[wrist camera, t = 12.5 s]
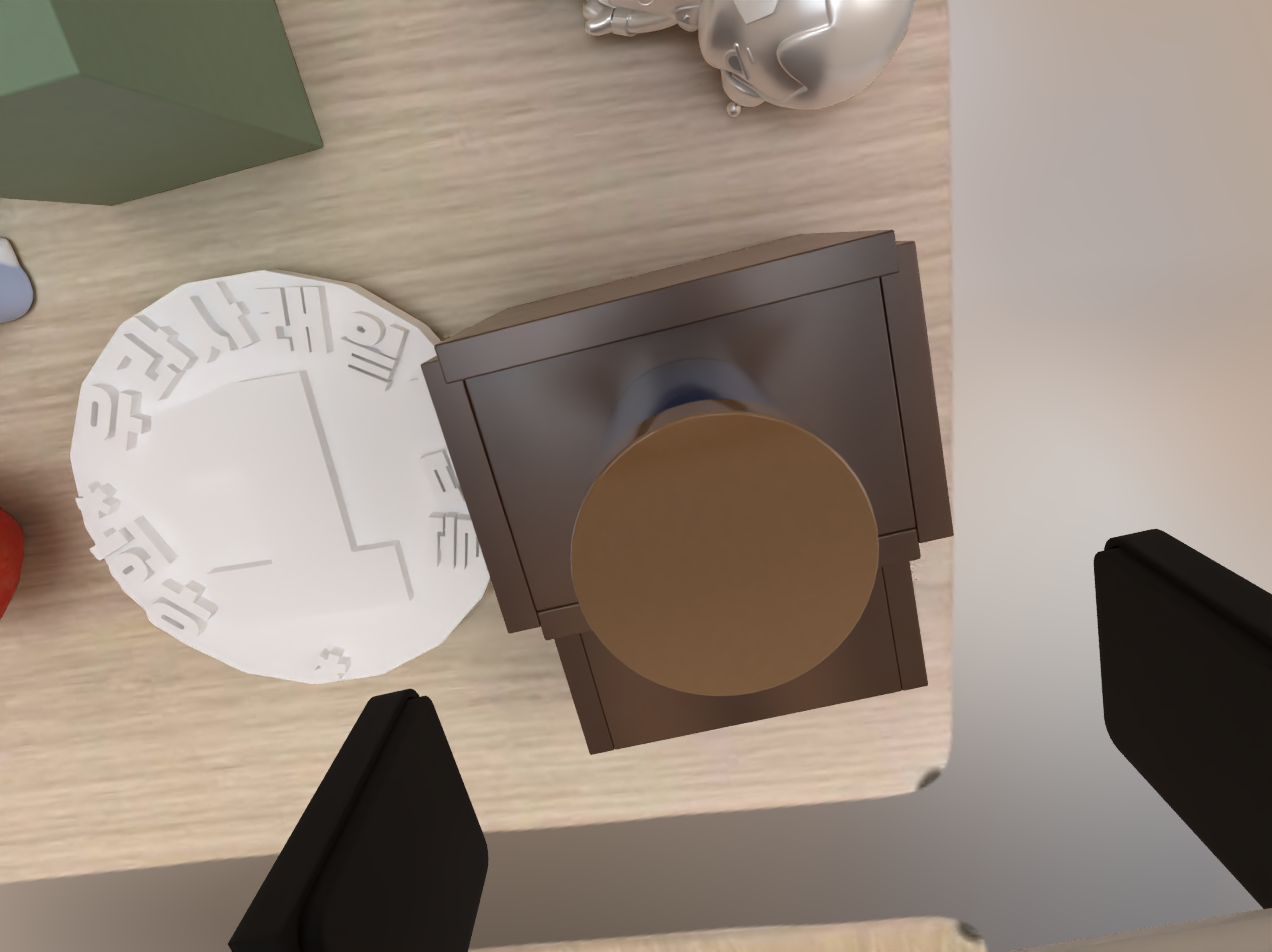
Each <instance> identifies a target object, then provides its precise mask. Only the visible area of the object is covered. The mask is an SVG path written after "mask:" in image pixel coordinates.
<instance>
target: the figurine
mask: <svg viewBox="0 0 1272 952" xmlns="http://www.w3.org/2000/svg"><path fill="white" fill-rule="evenodd" d="M914 3H915V0H586V1H585V3H584V6H583V14H584V16H585V18H586V20H587V21H586V23H585V29H586V32H587V33H588V34H589V35H592V36H599V35H603V34H608V33H611V32H612V33H614V34H619V35H624V36H634V35H635V34H637V33H646V32H652V31H657V30H661V29H665V28H668V27H671V26H673V25H675V24H677V23H678V25H679V26H680V27H681V28H683V29H684V30H686V31H690V32H693V31H696V30H698V38H699V45H700V50H701V53H702V55H703V57H704V59H705V61H706V62H707V63H708V64H709V65H711V66H712V67H715V68H718V69H721V76H722V86H723V89H724V91H725V93H726V94H727V96H728V97H729V98H730V99H732V100H733V101H732V102H730V103H729V104H728V106H727V113H728V114H729V115H730V116H731V117H736V116H738V115H739V114H740V112H741V105H743V106H747V107H754V106H758V105H760V104H761V103H763V102H764V101H767V102H769V103H771V104H774V105H777V106H781V107H787V108H793V109H800V110H814V109H821V108H825V107H828V106H831V105H834V104H837V103H839V102H842V101H844V100H847V99H849V98H851V97H853V96H855V95H856V94H858V93H860V92H861V91H863V90H864V89H865V88H867V87H868V86H869V85H870V84H871V83H872V82H873V81H874V80H875V79H876V78H877V77H878V76H879V74H880V73H881V72H882V71H883V69H884V68H885V67H886V65H887V64H888V62H889V61H890V59H891V58H892V56H893V55H894V53H895V52H896V50H897V48H898V47H899V45H900V44H901V42H902V40H903V38H904V36H905V34H906V31H907V28H908V25H909V22H910V18H911V15H912V11H913V7H914Z"/></svg>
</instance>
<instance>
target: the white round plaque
mask: <svg viewBox="0 0 1272 952" xmlns="http://www.w3.org/2000/svg"><path fill="white" fill-rule="evenodd" d="M440 342H442V341H441V340H440V339H439V338H438V337H437V336H436V335H435V333H434V332H433V331H432V330H431V329H430V328H429V327H428V326H427V325H426V324H425V323H423V322H421V321H419V320H418V319H416V318H414V317H412V316H411V315H409V314H407V313H405V312H404V311H402V310H400V309H399V308H397V307H395V306H393V305H392V304H390V303H388V302H386V301H385V300H383V299H381V298H379V297H378V296H376V295H374V294H373V293H371V292H369V291H367V290H366V289H364V288H362V287H360V286H359V285H357V284H353V283H348V282H343V281H337V280H332V279H327V278H322V277H317V276H311V275H306V274H301V273H296V272H291V271H285V270H280V269H270V270H260V271H254V272H248V273H242V274H237V275H231V276H225V277H219V278H213V279H208V280H202V281H196V282H190V283H185V284H182V285H181V286H179V287H178V288H176V289H175V290H173V291H171V292H170V293H168V294H167V295H165V296H164V297H162V298H161V299H159V300H157V301H156V302H154V303H153V304H151V305H150V306H148V307H147V308H145V309H143V310H142V311H140V312H139V313H137V314H136V315H134V316H133V317H131V318H129V319H128V320H126V321H125V322H123V323H122V324H120V326H119V327H118V329H117V331H116V332H115V334H114V335H113V337H112V338H111V340H110V341H109V343H108V344H107V346H106V347H105V349H104V351H103V352H102V354H101V355H100V357H99V358H98V360H97V361H96V363H95V364H94V366H93V367H92V369H91V370H90V372H89V374H88V375H87V377H86V378H85V380H84V381H83V383H82V384H81V390H80V396H79V402H78V408H77V414H76V420H75V426H74V432H73V438H72V445H71V451H70V459H71V464H72V468H73V473H74V478H75V482H76V487H77V492H78V496H79V497H77V498H75V500H76V503H77V505H78V508H79V510H81V511H82V515H83V520H84V525H85V528H86V529H87V531H88V533H89V534H90V536H91V538H92V539H93V541H94V543H95V544H96V545H95V546H93V547H92V548H90V549H89V550H90V551H91V552H92V554H93V555H94V556H95V557H96V558H97V559H98V560H99V561H100V560H102V559H103V558H104V559H105V561H106V563H107V564H108V566H109V569H110V573H111V574H112V576H113V577H114V579H115V580H117V581H118V583H119V585H120V586H121V588H122V590H123V591H124V592H125V593H126V594H127V595H128V596H130V597H131V598H132V599H133V600H134V601H135V602H136V603H137V604H138V605H140V606H141V607H142V608H143V609H144V610H145V611H146V612H147V617H148V619H149V621H150V622H151V623H152V624H153V625H155V626H156V627H158V628H160V629H161V630H163V631H165V632H167V633H169V634H170V635H172V636H174V637H175V638H176V639H177V640H178V641H180V642H182V643H184V644H186V645H188V646H190V647H192V648H195V649H197V650H199V651H201V652H203V653H205V654H207V655H209V656H211V657H213V658H215V659H217V660H219V661H221V662H223V663H225V664H228V665H230V666H232V667H234V668H236V669H238V670H240V671H242V672H244V673H249V674H255V675H261V676H267V677H273V678H279V679H285V680H291V681H297V682H303V683H309V684H321V683H328V682H335V681H342V680H349V679H356V678H363V677H370V676H377V675H383V674H384V673H386V672H388V671H390V670H392V669H394V668H396V667H398V666H400V665H402V664H404V663H406V662H408V661H410V660H411V659H413V658H415V657H417V656H419V655H421V654H423V653H425V652H427V651H429V650H431V649H433V648H435V647H437V646H438V645H440V644H441V643H442V642H443V641H444V640H445V639H446V638H447V636H448V635H449V634H450V633H451V632H452V631H453V630H454V628H455V627H456V626H457V625H458V624H459V623H460V622H461V621H462V619H463V618H464V617H465V616H466V615H467V614H468V613H469V611H470V610H471V609H472V608H473V607H474V606H475V605H476V604H477V602H478V601H479V600H480V599H481V598H482V597H483V595H484V593H485V591H486V589H487V586H488V584H489V582H490V579H491V578H490V575H489V572H488V569H487V566H486V563H485V560H484V557H483V554H482V551H481V548H480V545H479V542H478V539H477V536H476V533H475V530H474V527H473V524H472V521H471V518H470V515H469V512H468V508H467V505H466V502H465V499H464V496H463V493H462V490H461V487H460V484H459V481H458V478H457V475H456V472H455V469H454V466H453V463H452V460H451V457H450V454H449V451H448V448H447V445H446V442H445V439H444V436H443V433H442V429H441V426H440V423H439V420H438V417H437V414H436V411H435V408H434V405H433V402H432V399H431V396H430V393H429V390H428V387H427V384H426V381H425V378H424V375H423V372H422V369H421V364H422V363H424V362H426V361H428V360H429V359H431V358H433V357H435V356H437V354H436V351H435V348H434V345H436V344H438V343H440Z"/></svg>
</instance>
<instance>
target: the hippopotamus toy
mask: <svg viewBox="0 0 1272 952" xmlns="http://www.w3.org/2000/svg"><path fill="white" fill-rule="evenodd" d="M32 301H33V290H32V286H31V283H30V280H29V278H28V276H27V274H26V273H25V272H24V270H23V269H22V268H21V267H20V265H19V262H18V260H17V257H16V255H15V253H14V251H13V249H12V246H11V244H10V242H9V241H8V240H7V239H4V238H0V323H3V322H9V321H13V320H15V319H18V318H20V317H21V316H23V315H24V314H25V313H26V312H27V311H28V310H29V308H30V306H31V304H32Z"/></svg>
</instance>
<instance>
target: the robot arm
mask: <svg viewBox="0 0 1272 952" xmlns="http://www.w3.org/2000/svg"><path fill="white" fill-rule="evenodd" d="M1094 575H1095V588H1096V604H1097V618H1098V634H1099V649H1100V662H1101V677H1102V693H1103V707H1104V720H1105V725H1106V728H1107V731H1108V733H1109V736H1110V738H1111V739H1112V741H1113V743H1114V744H1115V745H1116V747H1117V748H1118V750H1119V751H1120V752H1121V753H1122V754H1123V755H1124V756H1125V757H1126V758H1127V760H1128V761H1129V762H1130V763H1131V764H1132V765H1133V766H1134V767H1135V768H1136V769H1137V771H1139V773H1140V774H1141V775H1142V776H1143V777H1144V778H1145V779H1146V780H1147V781H1148V782H1149V784H1150V785H1151V786H1152V787H1153V788H1154V789H1155V790H1156V791H1157V792H1158V793H1159V795H1160V796H1161V797H1162V798H1163V799H1164V800H1165V801H1166V802H1167V803H1168V804H1169V806H1171V808H1172V809H1173V810H1174V811H1175V812H1176V813H1177V814H1178V815H1179V817H1181V819H1182V820H1183V821H1184V822H1185V823H1186V824H1187V825H1188V826H1189V827H1190V828H1191V830H1192V831H1193V832H1194V833H1195V834H1196V835H1197V836H1198V837H1199V838H1200V839H1201V841H1202V842H1203V843H1204V844H1205V845H1206V846H1207V847H1208V848H1209V849H1210V851H1211V852H1212V853H1213V854H1214V855H1215V856H1216V857H1217V858H1218V859H1219V860H1220V861H1221V863H1222V864H1223V865H1224V866H1225V867H1226V868H1227V869H1228V870H1229V871H1230V872H1231V873H1232V875H1234V877H1235V878H1236V879H1237V880H1238V881H1239V882H1240V883H1241V884H1242V885H1243V887H1245V889H1246V890H1247V891H1248V892H1249V893H1250V894H1251V895H1252V896H1253V898H1254V899H1255V900H1256V901H1257V902H1258V903H1259V904H1260V905H1261V906H1262V907H1263V909H1262V910H1255V911H1249V912H1242V913H1236V914H1230V915H1224V916H1218V917H1213V918H1206V919H1200V920H1194V921H1188V922H1183V923H1176V924H1170V925H1165V926H1158V927H1152V928H1146V929H1140V930H1134V931H1128V932H1122V933H1117V934H1110V935H1104V936H1098V937H1092V938H1086V939H1080V940H1074V941H1068V942H1062V943H1056V944H1050V945H1044V946H1038V947H1033V948H1026V949H1020V950H1014V951H1008V952H1272V594H1270V593H1268V592H1267V591H1265V590H1263V589H1261V588H1260V587H1258V586H1256V585H1255V584H1253V583H1251V582H1249V581H1248V580H1246V579H1244V578H1243V577H1241V576H1239V575H1237V574H1236V573H1234V572H1232V571H1231V570H1229V569H1227V568H1225V567H1224V566H1222V565H1220V564H1219V563H1217V562H1215V561H1213V560H1211V559H1210V558H1208V557H1206V556H1205V555H1203V554H1201V553H1200V552H1198V551H1196V550H1195V549H1193V548H1191V547H1189V546H1188V545H1186V544H1184V543H1182V542H1181V541H1179V540H1177V539H1175V538H1174V537H1172V536H1170V535H1169V534H1167V533H1165V532H1164V531H1161V530H1158V529H1151V530H1147V531H1142V532H1138V533H1133V534H1128V535H1124V536H1119V537H1114V538H1110V539H1109V540H1108V541H1107V542H1106V545H1105V548H1104V551H1101V552H1098V553H1097V554H1096V555H1095V558H1094ZM487 869H488V850H487V844H486V841H485V838H484V835H483V832H482V830H481V827H480V825H479V822H478V819H477V817H476V814H475V812H474V809H473V806H472V804H471V801H470V799H469V796H468V793H467V791H466V788H465V786H464V783H463V780H462V778H461V775H460V773H459V770H458V767H457V765H456V762H455V760H454V757H453V754H452V752H451V749H450V746H449V744H448V741H447V739H446V736H445V733H444V731H443V728H442V726H441V723H440V720H439V718H438V715H437V713H436V710H435V707H434V705H433V703H432V701H431V699H430V698H429V697H427V696H422V697H419V695H418V694H417V692H416V691H415V690H413V689H407V690H402V691H397V692H393V693H388V694H383V695H379V696H375V697H372V698H371V699H370V700H369V701H368V703H367V704H366V706H365V708H364V710H363V711H362V713H361V715H360V717H359V718H358V720H357V722H356V723H355V725H354V727H353V729H352V730H351V732H350V734H349V736H348V737H347V739H346V741H345V742H344V744H343V746H342V748H341V749H340V751H339V753H338V755H337V756H336V758H335V760H334V761H333V763H332V765H331V767H330V768H329V770H328V772H327V774H326V775H325V777H324V779H323V780H322V782H321V784H320V786H319V787H318V789H317V791H316V793H315V794H314V796H313V798H312V799H311V801H310V803H309V805H308V806H307V808H306V810H305V812H304V813H303V815H302V817H301V818H300V820H299V822H298V824H297V825H296V827H295V829H294V831H293V832H292V834H291V836H290V837H289V839H288V841H287V843H286V844H285V846H284V848H283V850H282V851H281V853H280V855H279V856H278V858H277V860H276V862H275V863H274V865H273V867H272V869H271V870H270V872H269V874H268V875H267V877H266V879H265V881H264V882H263V884H262V886H261V888H260V889H259V891H258V893H257V895H256V896H255V898H254V900H253V901H252V903H251V905H250V907H249V908H248V910H247V912H246V913H245V915H244V917H243V919H242V920H241V922H240V924H239V926H238V927H237V929H236V931H235V933H234V934H233V936H232V938H231V939H230V941H229V943H228V945H229V947H230V949H231V950H232V952H468V948H469V944H470V940H471V936H472V931H473V927H474V923H475V919H476V915H477V911H478V906H479V903H480V898H481V894H482V890H483V886H484V881H485V878H486V873H487Z"/></svg>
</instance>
